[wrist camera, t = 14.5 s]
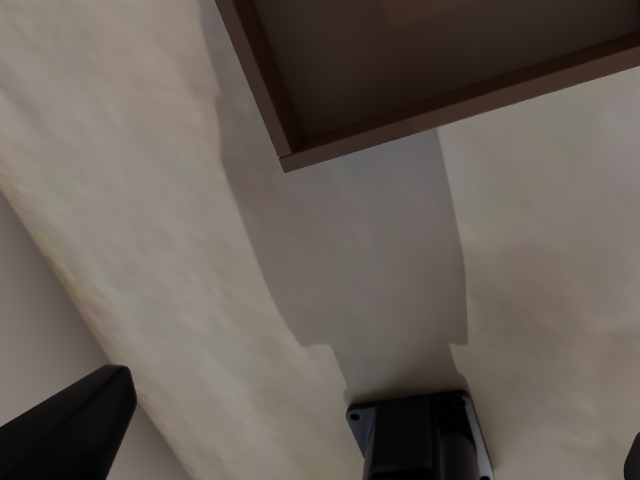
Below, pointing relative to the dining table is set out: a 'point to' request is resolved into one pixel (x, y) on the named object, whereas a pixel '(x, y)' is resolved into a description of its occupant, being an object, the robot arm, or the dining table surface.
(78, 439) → the robot arm
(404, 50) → the tray
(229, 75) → the dining table surface
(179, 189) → the dining table surface
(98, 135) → the dining table surface
